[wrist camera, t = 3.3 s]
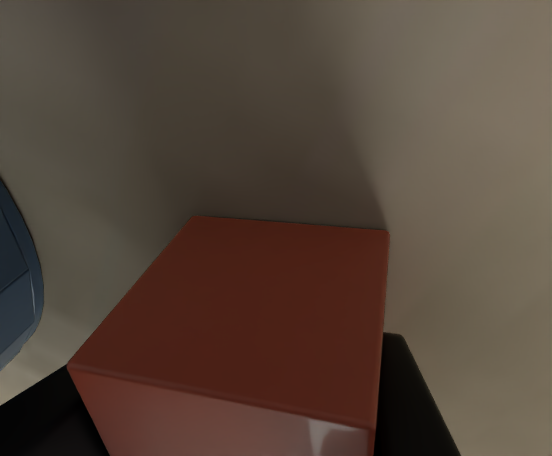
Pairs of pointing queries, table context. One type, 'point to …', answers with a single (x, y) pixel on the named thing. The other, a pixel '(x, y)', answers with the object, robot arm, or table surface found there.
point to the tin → (17, 281)
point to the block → (243, 344)
